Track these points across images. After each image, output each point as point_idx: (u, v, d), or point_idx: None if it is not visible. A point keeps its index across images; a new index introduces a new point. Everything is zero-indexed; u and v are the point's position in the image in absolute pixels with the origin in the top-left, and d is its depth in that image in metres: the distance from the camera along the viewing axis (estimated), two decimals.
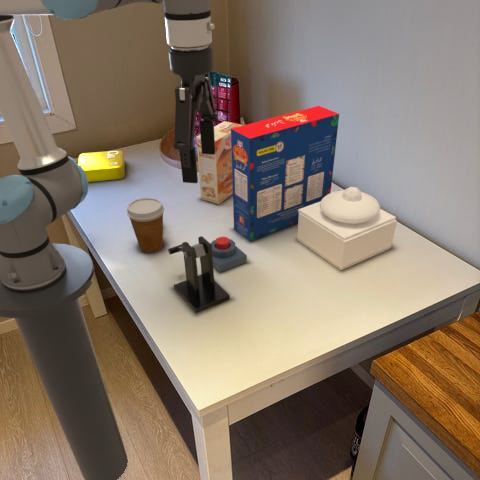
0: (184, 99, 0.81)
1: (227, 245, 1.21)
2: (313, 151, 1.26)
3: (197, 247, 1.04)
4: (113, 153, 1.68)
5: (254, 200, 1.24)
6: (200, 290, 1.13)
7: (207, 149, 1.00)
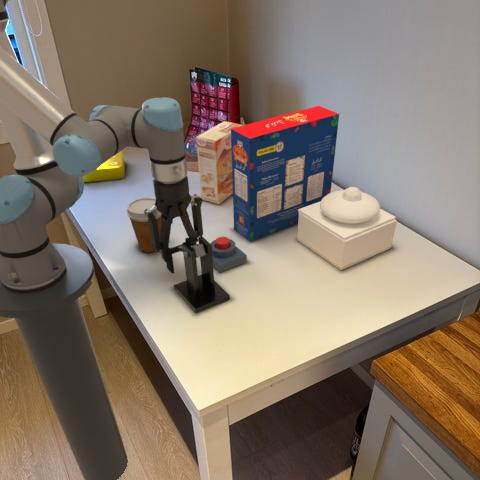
0: (149, 219, 1.06)
1: (227, 245, 1.21)
2: (313, 151, 1.26)
3: (197, 247, 1.04)
4: None
5: (254, 200, 1.24)
6: (200, 290, 1.13)
7: None
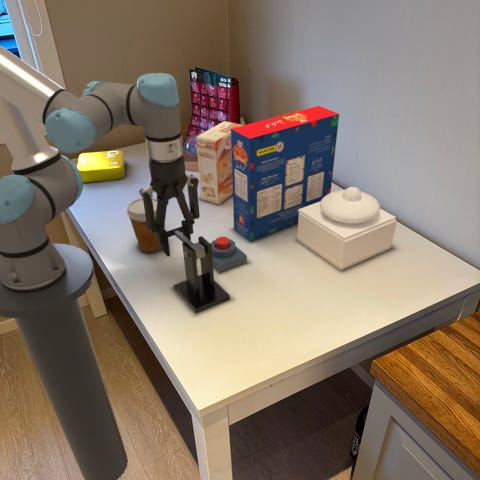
0: (145, 199, 1.04)
1: (227, 245, 1.21)
2: (313, 151, 1.26)
3: (198, 250, 1.04)
4: (113, 153, 1.68)
5: (254, 200, 1.24)
6: (200, 290, 1.13)
7: None
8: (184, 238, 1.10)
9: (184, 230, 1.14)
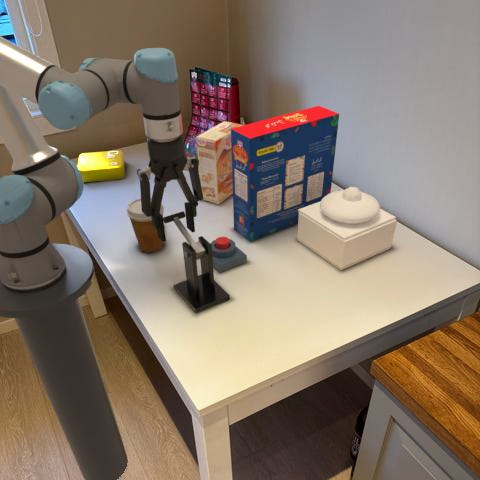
0: (142, 180, 1.01)
1: (227, 245, 1.21)
2: (313, 151, 1.26)
3: (199, 252, 1.05)
4: (113, 153, 1.68)
5: (254, 200, 1.24)
6: (200, 290, 1.13)
7: (189, 226, 1.14)
8: (184, 231, 1.08)
9: (183, 216, 1.11)
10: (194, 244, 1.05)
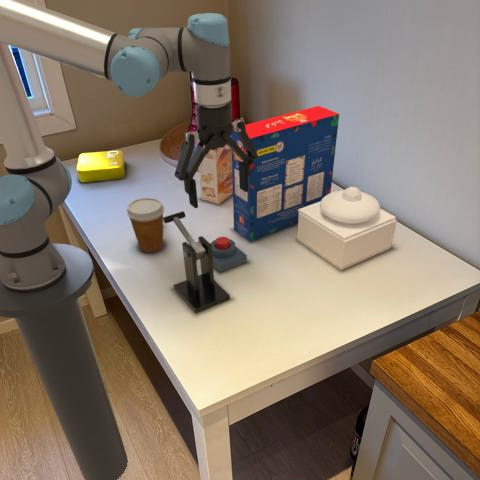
0: (187, 142, 1.01)
1: (227, 245, 1.21)
2: (313, 151, 1.26)
3: (199, 252, 1.05)
4: (113, 153, 1.68)
5: (254, 200, 1.24)
6: (200, 290, 1.13)
7: (242, 186, 1.15)
8: (184, 231, 1.08)
9: (183, 216, 1.11)
10: (194, 244, 1.05)
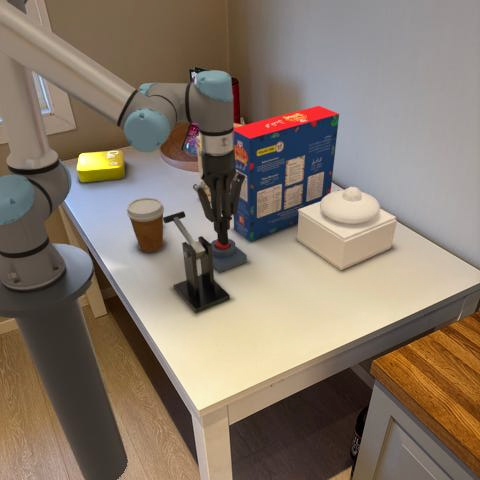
0: (199, 194, 1.10)
1: (227, 248, 1.22)
2: (313, 151, 1.26)
3: (199, 252, 1.05)
4: (113, 153, 1.68)
5: (254, 200, 1.24)
6: (200, 290, 1.13)
7: None
8: (184, 231, 1.08)
9: (183, 216, 1.11)
10: (194, 244, 1.05)
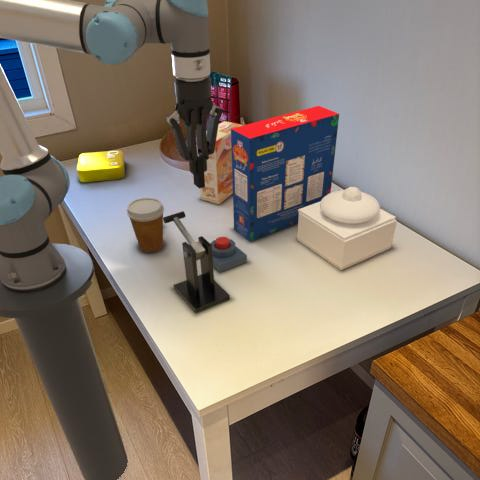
0: (172, 126, 1.01)
1: (227, 245, 1.21)
2: (313, 151, 1.26)
3: (199, 252, 1.05)
4: (113, 153, 1.68)
5: (254, 200, 1.24)
6: (200, 290, 1.13)
7: None
8: (184, 231, 1.08)
9: (183, 216, 1.11)
10: (194, 244, 1.05)
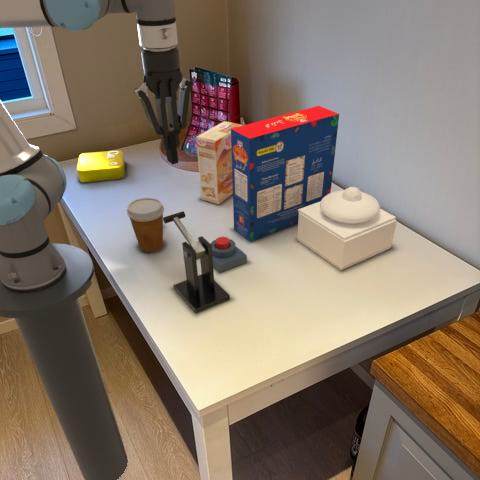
0: (141, 99, 1.00)
1: (227, 245, 1.21)
2: (313, 151, 1.26)
3: (199, 252, 1.05)
4: (113, 153, 1.68)
5: (254, 200, 1.24)
6: (200, 290, 1.13)
7: None
8: (184, 231, 1.08)
9: (183, 216, 1.11)
10: (194, 244, 1.05)
